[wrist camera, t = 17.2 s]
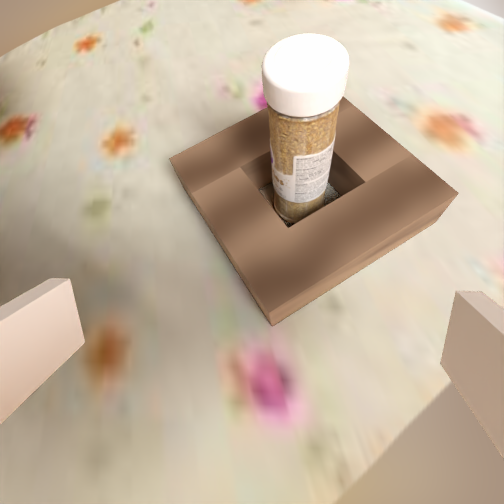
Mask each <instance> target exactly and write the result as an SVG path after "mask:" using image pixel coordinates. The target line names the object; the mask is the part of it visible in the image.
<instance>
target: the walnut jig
mask: <svg viewBox="0 0 504 504" xmlns="http://www.w3.org/2000/svg"><path fill="white" fill-rule="evenodd" d="M169 159H170V161H171V163H172V165H173V167H174V169H175V171H176V173H177V175H178V177H179V179H180V181H181V183H182V185H183V187H184V189H185V190H186V192H187V194H188V195H189V197H190V198H191V200H192V201H193V203H194V205H195V206H196V208H197V209H198V211H199V212H200V214H201V216H202V217H203V219H204V220H205V222H206V223H207V225H208V227H209V228H210V230H211V231H212V233H213V234H214V236H215V238H216V239H217V241H218V242H219V244H220V245H221V247H222V249H223V250H224V252H225V253H226V255H227V256H228V258H229V260H230V261H231V263H232V264H233V266H234V267H235V269H236V271H237V272H238V274H239V275H240V277H241V278H242V280H243V282H244V283H245V285H246V286H247V288H248V289H249V291H250V293H251V294H252V296H253V297H254V299H255V300H256V302H257V304H258V305H259V307H260V308H261V310H262V311H263V313H264V315H265V316H266V318H267V319H268V321H269V322H270V324H271V326H274V325H276V324H277V323H279V322H280V321H282V320H283V319H285V318H287V317H288V316H290V315H291V314H293V313H294V312H296V311H298V310H299V309H301V308H302V307H304V306H305V305H307V304H308V303H310V302H312V301H313V300H315V299H316V298H318V297H319V296H321V295H323V294H324V293H326V292H327V291H329V290H330V289H332V288H334V287H335V286H337V285H338V284H340V283H341V282H343V281H344V280H346V279H348V278H349V277H351V276H352V275H354V274H355V273H357V272H359V271H360V270H362V269H363V268H365V267H366V266H368V265H370V264H371V263H373V262H374V261H376V260H377V259H379V258H380V257H382V256H384V255H385V254H387V253H388V252H390V251H391V250H393V249H395V248H396V247H398V246H399V245H401V244H402V243H404V242H405V241H407V240H409V239H410V238H412V237H413V236H415V235H416V234H418V233H420V232H421V231H423V230H424V229H426V228H427V227H429V226H431V225H432V224H434V223H435V222H436V221H437V220H438V219H439V217H440V216H441V215H442V213H443V212H444V211H445V210H446V208H447V207H448V206H449V205H450V203H451V202H452V201H453V200H454V198H455V197H456V196H457V195H458V192H457V191H455V190H454V189H453V188H452V187H451V186H449V185H448V184H447V183H446V182H445V181H444V180H442V179H441V178H440V177H439V176H438V175H436V174H435V173H434V172H433V171H432V170H430V169H429V168H428V167H427V166H426V165H424V164H423V163H422V162H421V161H420V160H418V159H417V158H416V157H415V156H414V155H412V154H411V153H410V152H409V151H408V150H406V149H405V148H404V147H403V146H402V145H401V144H399V143H398V142H397V141H396V140H395V139H393V138H392V137H391V136H390V135H389V134H387V133H386V132H385V131H384V130H383V129H381V128H380V127H379V126H378V125H377V124H375V123H374V122H373V121H372V120H371V119H369V118H368V117H367V116H366V115H365V114H363V113H362V112H361V111H360V110H359V109H358V108H356V107H355V106H354V105H353V104H352V103H350V102H349V101H348V100H347V99H346V98H344V97H342V98H341V100H340V103H339V111H338V116H337V123H336V135H335V141H334V147H333V153H332V159H331V165H330V171H329V177H328V182H329V183H330V185H331V186H332V187H333V188H334V189H335V190H336V191H337V192H338V193H339V194H340V195H341V197H340V198H338V199H336V200H335V201H333V202H331V203H330V204H328V205H326V206H325V207H323V208H321V209H319V210H318V211H316V212H314V213H313V214H311V215H309V216H308V217H306V218H304V219H303V220H301V221H299V222H297V223H296V224H294V225H292V226H291V227H289V228H288V227H287V226H286V225H285V224H284V222H283V221H282V220H281V218H280V217H279V216H278V215H277V213H276V212H275V211H274V210H273V208H272V207H271V206H270V204H269V203H268V202H267V201H266V199H265V198H264V197H263V196H262V194H261V193H260V192H259V191H258V189H260V188H262V187H263V186H265V185H267V184H269V183H271V182H272V181H273V179H272V164H271V150H270V127H269V113H268V107H267V108H265V109H263V110H261V111H259V112H257V113H256V114H254V115H252V116H250V117H248V118H246V119H244V120H242V121H240V122H238V123H236V124H235V125H233V126H231V127H229V128H227V129H225V130H223V131H221V132H219V133H217V134H215V135H213V136H212V137H210V138H208V139H206V140H204V141H202V142H200V143H198V144H196V145H194V146H192V147H190V148H189V149H187V150H185V151H183V152H181V153H179V154H177V155H175V156H173V157H171V158H169Z"/></svg>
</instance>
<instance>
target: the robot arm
mask: <svg viewBox="0 0 504 504" xmlns="http://www.w3.org/2000/svg"><path fill="white" fill-rule="evenodd" d="M84 343H85V340H84V336H83V331H82V327H81V323H80V319H79V315H78V310H77V306H76V302H75V298H74V294H73V289H72V285H71V281H70V279H69V278H50V279H48V280H46V281H44V282H43V283H41V284H39V285H37V286H36V287H34V288H32V289H30V290H29V291H27V292H25V293H23V294H21V295H20V296H18V297H16V298H14V299H13V300H11V301H9V302H7V303H5V304H4V305H2V306H0V424H1V423H3V422H4V421H5V420H6V419H7V418H8V417H9V416H10V415H11V414H12V413H13V412H14V411H15V410H16V409H17V408H18V407H19V406H20V405H21V404H22V403H23V402H24V401H25V400H26V399H27V398H28V397H29V396H30V395H31V394H32V393H33V392H35V391H36V390H37V389H38V388H39V387H40V386H41V385H42V384H43V383H44V382H45V381H46V380H47V379H48V378H49V377H50V376H51V375H52V374H53V373H54V372H55V371H56V370H57V369H58V368H59V367H60V366H61V365H62V364H63V363H64V362H66V361H67V360H68V359H69V358H70V357H71V356H72V355H73V354H74V353H75V352H76V351H77V350H78V349H79V348H80V347H81V346H82V345H83V344H84ZM440 364H441V365H442V367H443V368H444V370H445V371H446V373H447V374H448V376H449V378H450V379H451V381H452V382H453V384H454V385H455V387H456V388H457V390H458V391H459V393H460V394H461V396H462V397H463V399H464V400H465V402H466V403H467V405H468V406H469V408H470V409H471V411H472V412H473V414H474V415H475V417H476V418H477V420H478V421H479V423H480V424H481V426H482V427H483V429H484V430H485V432H486V433H487V435H488V436H489V438H490V439H491V441H492V442H493V444H494V445H495V447H496V448H497V450H498V451H499V453H500V454H501V456H502V458H503V459H504V309H503V308H502V307H501V306H500V305H498V304H497V303H496V302H495V301H493V300H492V299H491V298H490V297H488V296H487V295H486V294H485V293H483V292H474V291H456V293H455V297H454V302H453V307H452V311H451V316H450V321H449V325H448V330H447V335H446V339H445V344H444V349H443V353H442V358H441V363H440Z"/></svg>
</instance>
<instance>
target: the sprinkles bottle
mask: <svg viewBox="0 0 504 504" xmlns="http://www.w3.org/2000/svg"><path fill="white" fill-rule="evenodd" d="M348 68H349V56H348V53H347V51H346V49H345V48H344V47H343V45H342V44H341V43H339V42H338V41H337V40H335V39H333V38H331V37H328V36H325V35H321V34H298V35H294V36H290V37H287V38H285V39H283V40H281V41H279V42H277V43H276V44H274V45H273V46H272V47H271V48H270V49H269V50H268V51H267V53H266V54H265V56H264V58H263V62H262V82H263V92H264V97H265V99H266V101H267V105H268V113H269V127H270V150H271V164H272V179H273V186H274V208H275V210H276V212H277V214H278V215H279V216H280V217H281V218H282V219H283V220H286V221H287V222H290V223H297V222H299V221H301V220H303V219H304V218H306V217H308V216H309V215H311V214H313V213H314V212H316V211H318V210H319V209H321V208H323V207H324V204H325V200H324V195H325V189H326V186H327V182H328V177H329V171H330V165H331V159H332V153H333V147H334V141H335V135H336V123H337V116H338V111H339V103H340V100H341V98H342V97H343V95H344V92H345V87H346V82H347V76H348Z"/></svg>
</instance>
